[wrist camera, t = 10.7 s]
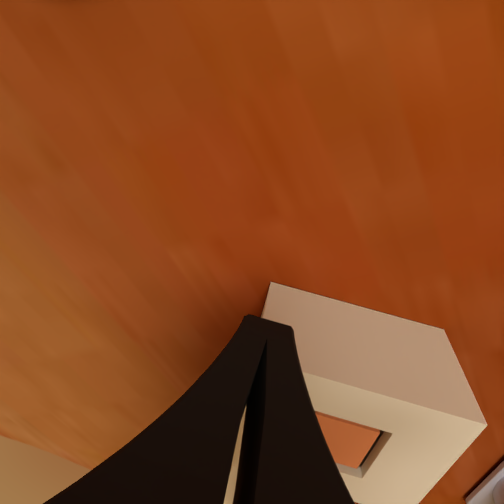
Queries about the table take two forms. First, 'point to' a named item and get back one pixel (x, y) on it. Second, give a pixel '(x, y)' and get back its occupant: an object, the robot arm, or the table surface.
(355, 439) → the button
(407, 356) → the cabinet
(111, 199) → the table surface
